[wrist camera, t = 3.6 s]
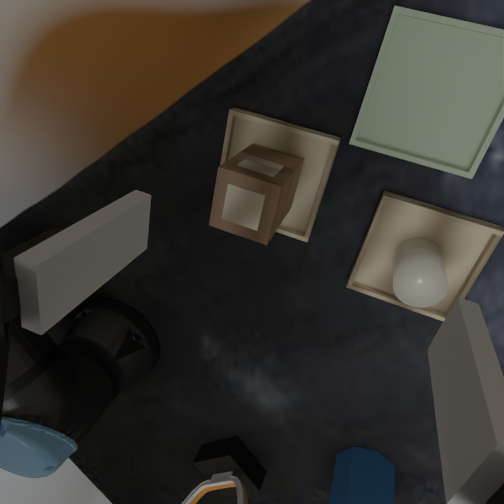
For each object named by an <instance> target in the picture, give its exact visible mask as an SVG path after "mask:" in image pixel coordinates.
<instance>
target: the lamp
mask: <svg viewBox="0 0 504 504" xmlns="http://www.w3.org/2000/svg"><path fill="white" fill-rule="evenodd" d="M193 464H194V465H195V466H196V467H197V468H198V469H199V471H200V472H201V473H202V474H203V475H204V476H205V477H206V479H207V481H204V482H203V483H201V484H200V485H198V486H197V487H196V488H195V489H194V490H193V491H192V492H191V493H190V494H189V495H188V497H187V498H186V499H185V500H184V501H183V503H182V504H196V502H197V501H198V500H199V499H200V498H201V497H202V496H203V495H204V494H205V493H207V492H208V491H211V490H217V491H218V492H219V493H220V495H221V496H222V497H224V496H231V495H237V497H238V504H248V501H247V493H251V492H258V491H260V489H261V486H262V483H263V479H264V476H265V473H266V471H265V469H264V468H263V467H262V466H261V465H260V463H259V462H258V461H257V460H256V459H255V457H254V456H253V455H252V454H251V452H250V451H249V450H248V449H247V448H246V446H245V445H244V444H243V443H242V442H241V440H240V439H239V438H238V437H233V438H229V439H225V440H221V441H217V442H212V443H208V444H204V445H202V446H201V448H200V450H199V452H198V454H197V456H196V458H195V460H194V462H193Z"/></svg>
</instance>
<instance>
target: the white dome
mask: <svg viewBox="0 0 504 504" xmlns="http://www.w3.org/2000/svg"><path fill="white" fill-rule="evenodd" d="M393 290H394V293H395V295H396V296H397V298H398V299H399V300H400V301H402V302H403V303H405V304H407V305H409V306H412V307H419V308H424V307H429V306H433V305H435V304H437V303H439V302H440V301H441V300H442V299H443V298H444V297H445V295H446V294H447V291H448V280H447V275H446V270H445V265H444V260H443V255H442V252H441V249H440V248H439V246H438V245H437V244H436V243H434V242H433V241H431V240H429V239H426V238H419V237H417V238H411V239H408V240H405V241H404V242H402V243H401V244H400V245H399V246H398V247H397V248H396V250H395V252H394V258H393Z"/></svg>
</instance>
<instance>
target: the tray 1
mask: <svg viewBox="0 0 504 504" xmlns="http://www.w3.org/2000/svg"><path fill="white" fill-rule="evenodd" d="M340 140H341V138H340V137H337V136H333V135H330V134H326V133H323V132H319V131H316V130H312V129H309V128H305V127H302V126H298V125H295V124H291V123H288V122H284V121H281V120H277V119H274V118H270V117H267V116H263V115H260V114H256V113H253V112H249V111H246V110H242V109H239V108H235V107H234V108H232V109H229V115H228V121H227V127H226V133H225V139H224V145H223V151H222V157H221V163H220V165H222V164H223V163H225V162H226V161H228V160H229V159H230V158H232V157H233V156H235V155H236V154H238V153H239V152H241V151H242V150H244V149H245V148H247V147H248V146H249V145H251V144H252V143H255V144H258V145H261V146H265V147H268V148H271V149H275V150H278V151H281V152H285V153H288V154H291V155H295V156H298V157H301V158H305V160H304V164H303V167H302V171H301V174H300V178H299V182H298V185H297V189H296V192H295V196H294V199H293V203H292V207H291V209H290V211H289V212H288V214H287V215H286V217H285V218H284V220H283V221H282V223H281V224H280V226H279V227H278V229H277V230H276V232H278V233H281V234H284V235H287V236H290V237H293V238H296V239H299V240H302V241H305V242H308V239H309V237H310V234H311V231H312V228H313V225H314V222H315V219H316V215H317V212H318V209H319V206H320V203H321V200H322V197H323V194H324V190H325V187H326V184H327V181H328V178H329V175H330V172H331V168H332V165H333V162H334V159H335V156H336V153H337V150H338V146H339V143H340Z"/></svg>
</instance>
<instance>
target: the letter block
mask: <svg viewBox="0 0 504 504" xmlns="http://www.w3.org/2000/svg"><path fill="white" fill-rule="evenodd" d="M304 160H305V158H301V157H298V156H295V155H291V154H288V153H285V152H281V151H278V150H275V149H271V148H268V147H265V146H261V145H258V144H255V143H252V144H251V145H249V146H248V147H247V148H245V149H244V150H242V151H241V152H239V153H238V154H236V155H235V156H233V157H232V158H230V159H229V160H228V161H226V162H225V163H223V164H222V165H220V166H219V167H218V172H217V179H216V185H215V191H214V197H213V203H212V209H211V215H210V221H209V225H210V226H213V227H216V228H218V229H221V230H224V231H227V232H230V233H233V234H236V235H239V236H242V237H244V238H247V239H250V240H253V241H256V242H259V243H262V244H265V245H267V244H268V243H269V241H270V240H271V238H272V236H273V235H274V233H275V232H276V230H277V229H278V227H279V226H280V224H281V223H282V221H283V220H284V218H285V217H286V215H287V214H288V212H289V211H290V209H291V207H292V203H293V199H294V196H295V192H296V189H297V185H298V182H299V178H300V174H301V171H302V167H303V164H304Z"/></svg>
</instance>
